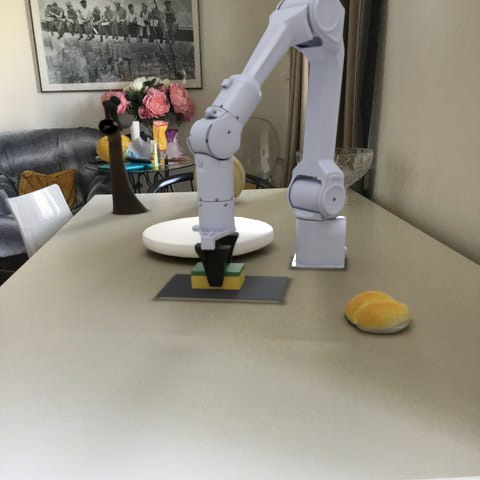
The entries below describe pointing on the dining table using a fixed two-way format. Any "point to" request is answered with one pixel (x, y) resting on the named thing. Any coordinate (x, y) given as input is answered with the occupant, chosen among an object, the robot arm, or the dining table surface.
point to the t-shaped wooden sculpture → (118, 158)
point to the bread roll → (377, 313)
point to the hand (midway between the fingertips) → (219, 280)
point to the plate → (184, 239)
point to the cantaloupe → (237, 177)
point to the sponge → (232, 277)
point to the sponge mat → (250, 289)
